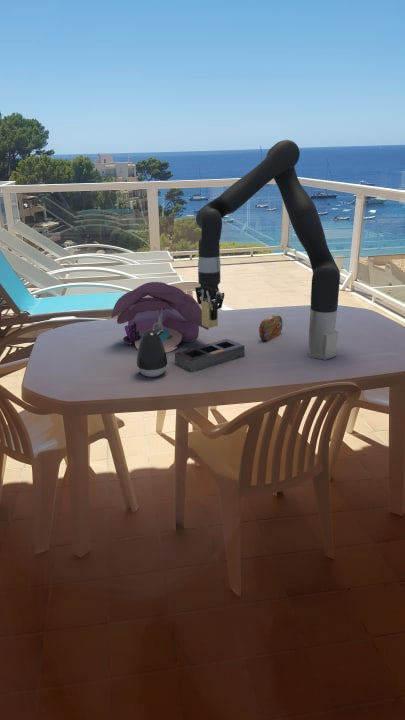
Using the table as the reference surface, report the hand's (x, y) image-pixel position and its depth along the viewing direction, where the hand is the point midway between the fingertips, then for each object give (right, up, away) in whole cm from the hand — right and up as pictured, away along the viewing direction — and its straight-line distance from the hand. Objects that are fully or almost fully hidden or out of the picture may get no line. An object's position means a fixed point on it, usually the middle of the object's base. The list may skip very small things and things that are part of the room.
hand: (209, 318), depth 173 cm
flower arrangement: (-19, -9, +21) cm, 30 cm away
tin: (+25, -6, +27) cm, 38 cm away
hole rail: (0, -15, +6) cm, 16 cm away
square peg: (0, -2, +1) cm, 3 cm away
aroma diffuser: (-19, -20, -6) cm, 28 cm away
